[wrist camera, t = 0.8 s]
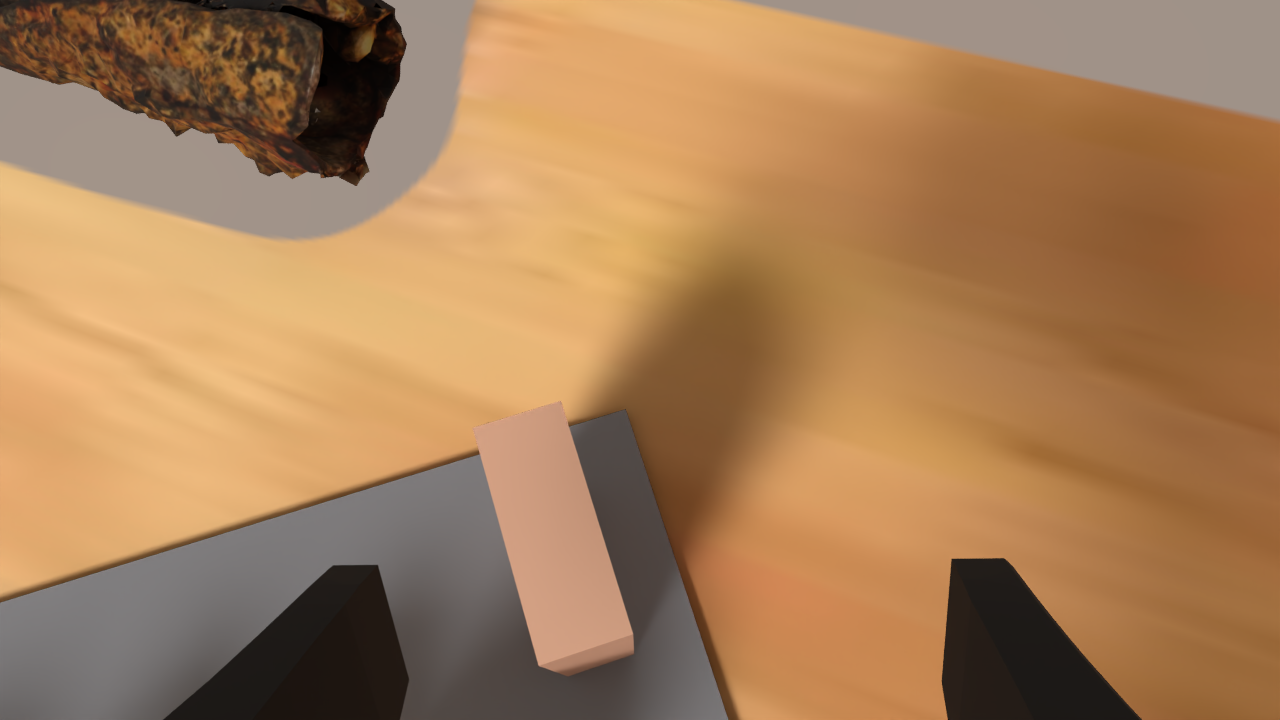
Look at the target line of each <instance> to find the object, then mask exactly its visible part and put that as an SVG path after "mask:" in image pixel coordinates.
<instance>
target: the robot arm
mask: <svg viewBox="0 0 1280 720" xmlns="http://www.w3.org/2000/svg"><path fill="white" fill-rule="evenodd" d="M408 683H409V677H408V673H407V669H406V666H405V662H404V658H403V655H402V651H401V647H400V644H399V640H398V636H397V633H396V629H395V625H394V622H393V618H392V615H391V611H390V607H389V604H388V600H387V596H386V593H385V589H384V585H383V582H382V578H381V574H380V571H379V567H378V565H333V566H332V567H330V568H329V569H328V570H327V571H326V572H325V573H324V574H323V575H321V576H320V577H319V578H318V579H317V580H316V581H315V582H314V583H313V584H312V585H311V586H309V587H308V588H307V589H306V590H305V591H304V592H303V593H302V594H301V595H300V596H299V597H298V598H297V599H296V600H295V601H294V602H292V603H291V604H290V605H289V606H288V607H287V608H286V609H285V610H284V611H283V612H282V613H281V614H280V615H279V616H278V617H277V618H276V619H275V620H274V621H272V622H271V623H270V624H269V625H268V626H267V627H266V628H265V629H264V630H263V631H262V632H261V633H260V634H259V635H258V636H257V637H255V638H254V639H253V640H252V641H251V642H250V643H249V644H248V645H247V646H246V647H245V648H244V649H242V650H241V651H240V652H239V653H238V654H237V655H236V656H235V657H234V658H233V659H232V660H231V661H229V662H228V663H227V664H226V665H225V666H224V667H223V668H222V669H221V670H220V671H219V672H218V673H216V674H215V675H214V676H213V677H212V678H211V679H210V680H209V681H208V682H206V683H205V684H204V685H203V686H202V687H201V688H199V689H198V690H197V691H196V692H195V693H194V694H192V695H191V696H190V697H189V698H188V699H187V700H185V701H184V702H183V703H182V704H181V705H179V706H178V707H177V708H176V709H175V710H174V711H172V712H171V713H170V714H169V715H168V716H167V717H165V718H164V719H163V720H400V718H401V713H402V709H403V705H404V700H405V696H406V692H407V687H408ZM942 686H943V693H944V699H945V705H946V711H947V717H948V720H1142V719H1141V718H1140V717H1139V716H1138V715H1137V714H1136V713H1135V712H1134V711H1133V710H1132V709H1131V708H1130V706H1129V705H1128V704H1127V703H1126V702H1125V701H1124V700H1123V699H1122V698H1121V697H1120V696H1119V694H1118V693H1117V692H1116V691H1115V690H1114V689H1113V688H1112V687H1111V685H1110V684H1109V683H1108V682H1107V681H1106V680H1105V679H1104V678H1103V676H1102V675H1101V674H1100V673H1099V672H1098V671H1097V670H1096V669H1095V668H1094V666H1093V665H1092V664H1091V663H1090V662H1089V661H1088V660H1087V658H1086V657H1085V656H1084V655H1083V654H1082V653H1081V651H1080V650H1079V649H1078V648H1077V647H1076V646H1075V644H1074V643H1073V642H1072V641H1071V640H1070V638H1069V637H1068V636H1067V635H1066V633H1065V632H1064V631H1063V630H1062V629H1061V627H1060V626H1059V625H1058V624H1057V623H1056V621H1055V620H1054V619H1053V618H1052V616H1051V615H1050V614H1049V613H1048V611H1047V610H1046V609H1045V608H1044V606H1043V605H1042V604H1041V603H1040V601H1039V600H1038V599H1037V597H1036V596H1035V595H1034V594H1033V592H1032V591H1031V590H1030V588H1029V587H1028V586H1027V584H1026V583H1025V582H1024V581H1023V579H1022V578H1021V577H1020V575H1019V574H1018V573H1017V571H1016V570H1015V569H1014V567H1013V566H1012V565H1011V564H1010V563H1009V562H1008V561H1007V560H1005V559H1004V558H992V559H952V562H951V574H950V586H949V599H948V611H947V623H946V636H945V648H944V660H943V673H942Z"/></svg>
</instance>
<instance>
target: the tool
mask: <svg viewBox="0 0 1280 720" xmlns="http://www.w3.org/2000/svg"><path fill="white" fill-rule="evenodd" d="M406 45H407V44H406V41H405V39H404V37H403V35H402V31H401V26H400V25H399V23H398V22H397V20H396V19H395V8H393V7H392V6H390V5H388V4H387V3H385V2H384V1H382V0H0V66H1V67H4V68H6V69H9V70H12V71H15V72H18V73H20V74H24V75H28V76H31V77H35V78H39V79H42V80H46V81H49V82H51V83H56V84H65V83H71V82H75V83H78V84H81V85H83V86H86V87H89V88H92V89H94V90H97V91H99V92H100V93H101V94H102V96H103V97H104V98H106V99H108V100H110V101H112V102H114V103H115V104H117V105H118V106H120V107H121V108H123V109H125V110H128V111H131V112H134V113H136V114H137V113H146V114H147V116H148V117H149V118H151V119H156V120H161V121H163V122H165V123H166V124H167V125H168V126H169V128H170V129H171V130H172V132H173V133H174V134H175V136H179V135H180V134H182V133H184V132H185V131H187V130H189V129H190V128H193V129H196V130H198V131H200V132H203V133H214V134H215V136H216V139H217V141H218V143H234V144H235V146H236V147H237V148H238V149H239V150H240V151H241V152H242V153H243V154H244V155H245V156H246V157H248V158H251V159H253V160H254V161H255V163H256V165H257V168H258V170H259V172H260V173H263V174H265V175H267V176H271V175H273V174H275V173H279V172H284V173H285V174H287V175H288V176H289V177H290V178H292V179H293V178H295V177H297V176H299V175H301V174H303V173H305V172H311V173H319V174H320V175H321V178H325V177H333V176H339V177H340V178H341V179H343V180H345V181H347V182H349V183H351V184H353V185H355V186H357V184H358V183H359V181H360V180H361V179H362V177H364V175H365V174H366V173H368V172H369V169H368V166H367V163H366V160H365V156H364V153H365V150H366V148H367V147H368V144H369V141H370V138H371V134H372V132H373V129H374V127H375V125H376V124H377V122H378V120H379V118H381V117H383V116H384V112H385V109H386V105H387V102H388V100H389V98H390V96H391V95H392V93H393V91H394V89H395V87H396V85H397V84H398V82H399V79H400V63H401V60H402V58H403V55H404V52H405V49H406Z"/></svg>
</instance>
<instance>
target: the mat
mask: <svg viewBox="0 0 1280 720" xmlns="http://www.w3.org/2000/svg"><path fill="white" fill-rule="evenodd" d="M569 428H570V432H571V435H572V438H573V441H574V445H575V448H576V451H577V454H578V457H579V461H580V464H581V467H582V470H583V474H584V477H585V480H586V483H587V487H588V490H589V493H590V496H591V499H592V503H593V506H594V509H595V512H596V516H597V519H598V522H599V525H600V528H601V532H602V535H603V538H604V541H605V545H606V548H607V551H608V554H609V558H610V561H611V564H612V567H613V570H614V574H615V577H616V580H617V583H618V587H619V590H620V593H621V596H622V599H623V603H624V606H625V609H626V612H627V616H628V619H629V622H630V625H631V629H632V632H633V639H634V654H633V655H630V656H627V657H624V658H621V659H618V660H615V661H613V662H610V663H607V664H604V665H601V666H598V667H595V668H592V669H589V670H586V671H583V672H580V673H577V674H574V675H571V676H565V675H562V674H560V673H557V672H554V671H551V670H549V669H546V668H543V667H540V666H539V665H538V662H537V658H536V655H535V651H534V647H533V644H532V640H531V636H530V633H529V629H528V626H527V622H526V618H525V615H524V611H523V608H522V604H521V600H520V597H519V593H518V590H517V586H516V582H515V579H514V575H513V572H512V568H511V564H510V561H509V557H508V553H507V550H506V546H505V543H504V539H503V535H502V532H501V528H500V525H499V521H498V517H497V514H496V510H495V507H494V503H493V499H492V496H491V492H490V489H489V485H488V481H487V478H486V474H485V470H484V467H483V463H482V460H481V456H480V454H479V455H476V456H473V457H469V458H466V459H463V460H460V461H456V462H453V463H450V464H447V465H444V466H440V467H437V468H434V469H431V470H427V471H424V472H421V473H418V474H414V475H411V476H408V477H405V478H402V479H398V480H395V481H392V482H389V483H385V484H382V485H379V486H376V487H372V488H369V489H366V490H363V491H359V492H356V493H353V494H350V495H347V496H343V497H340V498H337V499H334V500H330V501H327V502H324V503H321V504H317V505H314V506H311V507H308V508H305V509H301V510H298V511H295V512H292V513H288V514H285V515H282V516H279V517H275V518H272V519H269V520H266V521H263V522H259V523H256V524H253V525H250V526H246V527H243V528H240V529H237V530H233V531H230V532H227V533H224V534H220V535H217V536H214V537H211V538H208V539H204V540H201V541H198V542H195V543H191V544H188V545H185V546H182V547H178V548H175V549H172V550H169V551H166V552H162V553H159V554H156V555H153V556H149V557H146V558H143V559H140V560H136V561H133V562H130V563H127V564H123V565H120V566H117V567H114V568H111V569H107V570H104V571H101V572H98V573H94V574H91V575H88V576H85V577H81V578H78V579H75V580H72V581H69V582H65V583H62V584H59V585H56V586H52V587H49V588H46V589H43V590H39V591H36V592H33V593H30V594H26V595H23V596H20V597H17V598H14V599H10V600H7V601H4V602H1V603H0V720H163V719H164V718H165V717H167V716H168V715H169V714H170V713H171V712H172V711H174V710H175V709H176V708H177V707H178V706H179V705H181V704H182V703H183V702H184V701H185V700H187V699H188V698H189V697H190V696H191V695H192V694H194V693H195V692H196V691H197V690H198V689H199V688H201V687H202V686H203V685H204V684H205V683H206V682H208V681H209V680H210V679H211V678H212V677H213V676H214V675H215V674H216V673H218V672H219V671H220V670H221V669H222V668H223V667H224V666H225V665H226V664H227V663H228V662H229V661H231V660H232V659H233V658H234V657H235V656H236V655H237V654H238V653H239V652H240V651H241V650H242V649H244V648H245V647H246V646H247V645H248V644H249V643H250V642H251V641H252V640H253V639H254V638H255V637H257V636H258V635H259V634H260V633H261V632H262V631H263V630H264V629H265V628H266V627H267V626H268V625H269V624H270V623H271V622H272V621H274V620H275V619H276V618H277V617H278V616H279V615H280V614H281V613H282V612H283V611H284V610H285V609H286V608H287V607H288V606H289V605H290V604H291V603H292V602H294V601H295V600H296V599H297V598H298V597H299V596H300V595H301V594H302V593H303V592H304V591H305V590H306V589H307V588H308V587H309V586H311V585H312V584H313V583H314V582H315V581H316V580H317V579H318V578H319V577H320V576H321V575H323V574H324V573H325V572H326V571H327V570H328V569H329V568H330V567H332V566H333V565H378V567H379V571H380V574H381V578H382V582H383V585H384V589H385V593H386V596H387V600H388V604H389V607H390V611H391V615H392V618H393V622H394V625H395V629H396V633H397V636H398V640H399V644H400V647H401V651H402V655H403V658H404V662H405V666H406V669H407V673H408V677H409V683H408V687H407V692H406V696H405V700H404V705H403V709H402V713H401V718H400V720H728V717H727V714H726V711H725V708H724V705H723V702H722V699H721V696H720V693H719V690H718V687H717V684H716V681H715V678H714V675H713V672H712V669H711V666H710V663H709V660H708V657H707V654H706V651H705V648H704V645H703V642H702V639H701V636H700V633H699V630H698V626H697V623H696V620H695V617H694V614H693V611H692V608H691V605H690V602H689V599H688V596H687V593H686V590H685V587H684V584H683V581H682V578H681V575H680V572H679V569H678V566H677V563H676V560H675V557H674V554H673V551H672V548H671V545H670V542H669V539H668V536H667V533H666V530H665V527H664V524H663V521H662V518H661V515H660V512H659V509H658V506H657V503H656V500H655V497H654V494H653V491H652V488H651V485H650V482H649V478H648V475H647V472H646V469H645V466H644V463H643V460H642V457H641V454H640V451H639V448H638V445H637V442H636V439H635V436H634V433H633V430H632V427H631V424H630V421H629V418H628V415H627V412H626V409H625V410H621V411H618V412H615V413H612V414H608V415H605V416H602V417H599V418H596V419H592V420H589V421H586V422H583V423H579V424H576V425H573V426H570V427H569Z"/></svg>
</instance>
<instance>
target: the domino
mask: <svg viewBox="0 0 1280 720" xmlns="http://www.w3.org/2000/svg"><path fill="white" fill-rule="evenodd" d="M473 431H474V434H475V438H476V442H477V445H478V449H479V452H480V456H481V460H482V463H483V467H484V470H485V474H486V478H487V481H488V485H489V489H490V492H491V496H492V499H493V503H494V507H495V510H496V514H497V517H498V521H499V525H500V528H501V532H502V535H503V539H504V543H505V546H506V550H507V553H508V557H509V561H510V564H511V568H512V572H513V575H514V579H515V582H516V586H517V590H518V593H519V597H520V600H521V604H522V608H523V611H524V615H525V618H526V622H527V626H528V629H529V633H530V636H531V640H532V644H533V647H534V651H535V655H536V658H537V662H538V665H539V666H540V667H543V668H546V669H549V670H551V671H554V672H557V673H560V674H562V675H565V676H571V675H574V674H577V673H580V672H583V671H586V670H589V669H592V668H595V667H598V666H601V665H604V664H607V663H610V662H613V661H615V660H618V659H621V658H624V657H627V656H630V655H633V654H634V639H633V632H632V629H631V625H630V622H629V619H628V616H627V612H626V609H625V606H624V603H623V599H622V596H621V593H620V590H619V587H618V583H617V580H616V577H615V574H614V570H613V567H612V564H611V561H610V558H609V554H608V551H607V548H606V545H605V541H604V538H603V535H602V532H601V528H600V525H599V522H598V519H597V516H596V512H595V509H594V506H593V503H592V499H591V496H590V493H589V490H588V487H587V483H586V480H585V477H584V474H583V470H582V467H581V464H580V461H579V457H578V454H577V451H576V448H575V445H574V441H573V438H572V435H571V432H570V428H569V425H568V422H567V419H566V416H565V412H564V409H563V406H562V403H561V401H559V402H555V403H552V404H549V405H546V406H542V407H539V408H536V409H533V410H529V411H526V412H523V413H520V414H516V415H513V416H510V417H506V418H503V419H500V420H497V421H493V422H490V423H487V424H484V425H480V426H477V427H474V428H473Z"/></svg>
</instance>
